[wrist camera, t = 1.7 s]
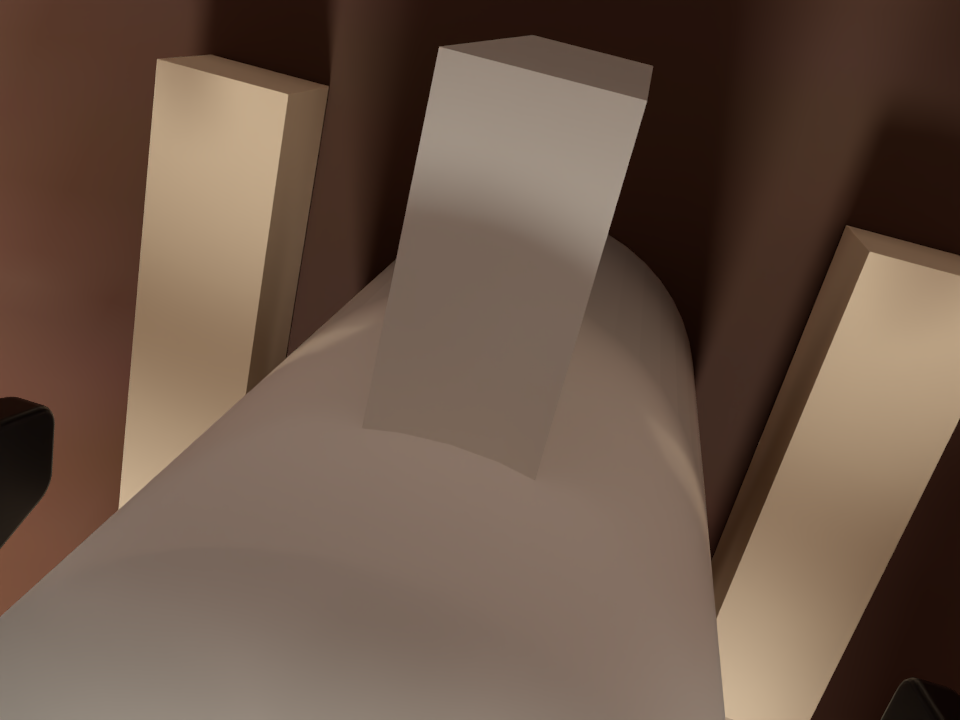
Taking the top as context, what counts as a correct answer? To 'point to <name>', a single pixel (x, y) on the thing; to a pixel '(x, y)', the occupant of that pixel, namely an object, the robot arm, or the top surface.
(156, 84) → the oak cradle
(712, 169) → the top surface
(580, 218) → the cream jug
